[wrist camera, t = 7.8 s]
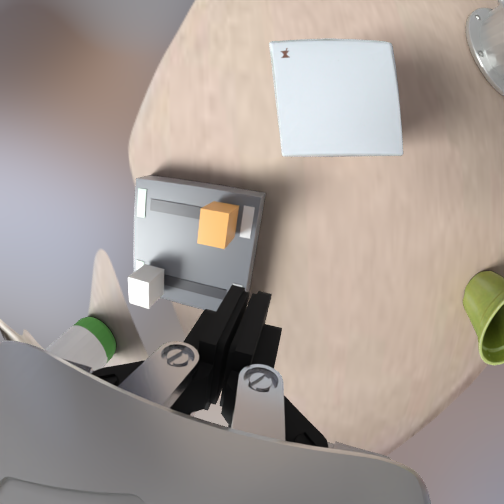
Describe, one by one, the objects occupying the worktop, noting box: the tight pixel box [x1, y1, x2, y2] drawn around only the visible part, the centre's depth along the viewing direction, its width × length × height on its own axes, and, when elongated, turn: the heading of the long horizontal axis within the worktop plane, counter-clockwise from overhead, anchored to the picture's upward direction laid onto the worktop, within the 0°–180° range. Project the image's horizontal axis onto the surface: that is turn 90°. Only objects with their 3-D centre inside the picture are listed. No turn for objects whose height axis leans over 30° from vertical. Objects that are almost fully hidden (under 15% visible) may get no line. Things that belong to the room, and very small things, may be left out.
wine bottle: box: [45, 317, 116, 371], centre depth 27 cm, size 8×8×30 cm
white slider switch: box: [128, 264, 164, 309], centre depth 29 cm, size 3×2×4 cm
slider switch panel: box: [134, 175, 266, 311], centre depth 31 cm, size 13×13×3 cm
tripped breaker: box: [197, 201, 239, 249], centre depth 25 cm, size 3×2×4 cm
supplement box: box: [269, 39, 403, 157], centre depth 19 cm, size 7×7×13 cm
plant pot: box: [463, 271, 504, 365], centre depth 23 cm, size 9×9×9 cm
